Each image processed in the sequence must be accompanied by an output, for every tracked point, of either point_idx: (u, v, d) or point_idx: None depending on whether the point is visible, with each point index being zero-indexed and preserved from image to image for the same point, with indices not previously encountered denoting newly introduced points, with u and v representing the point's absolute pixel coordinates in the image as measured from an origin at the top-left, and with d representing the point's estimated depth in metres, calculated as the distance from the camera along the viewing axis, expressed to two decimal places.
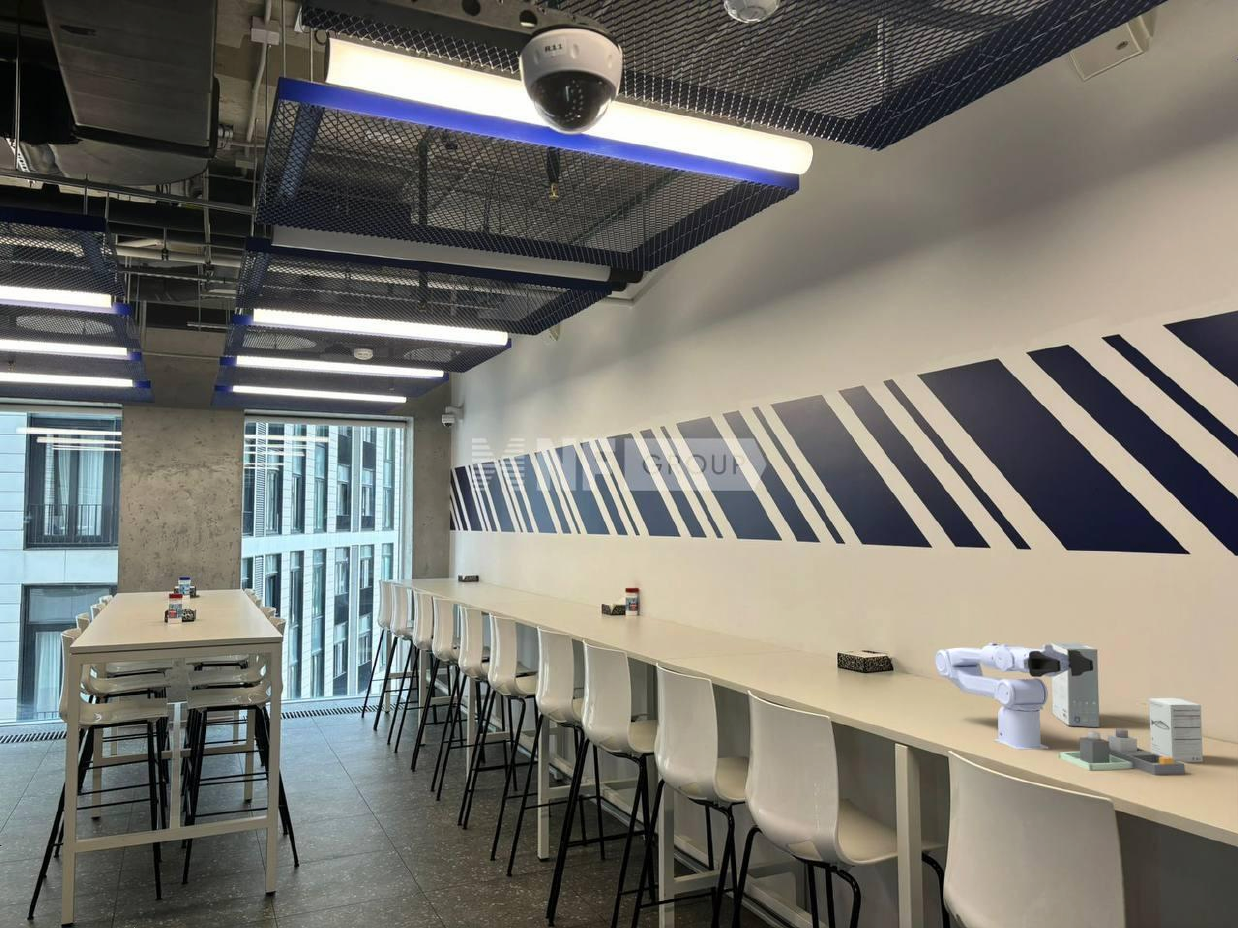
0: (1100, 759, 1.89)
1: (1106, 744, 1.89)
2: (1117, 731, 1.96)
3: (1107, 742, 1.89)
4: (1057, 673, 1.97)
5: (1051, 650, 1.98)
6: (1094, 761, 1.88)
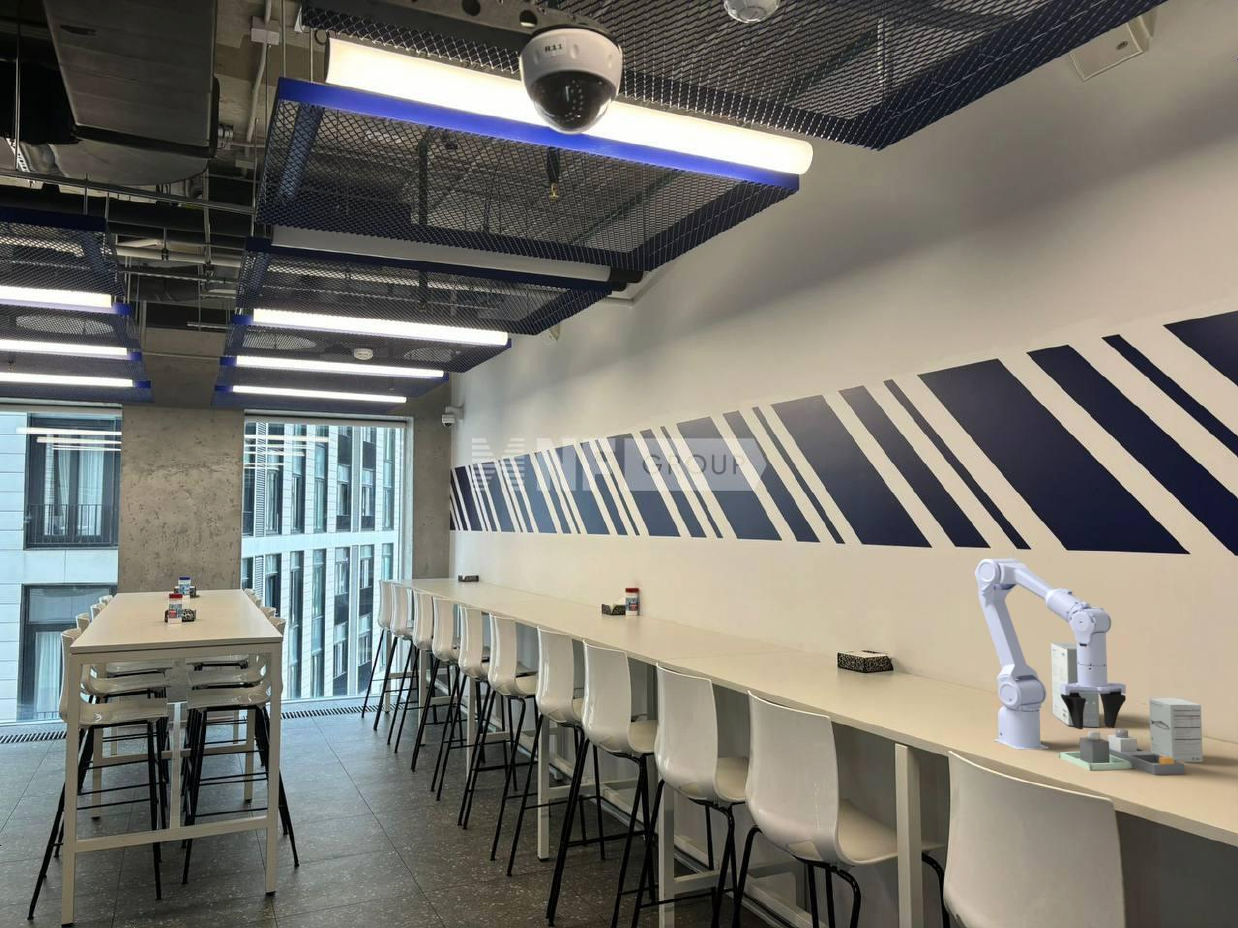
0: (1100, 759, 1.89)
1: (1106, 744, 1.89)
2: (1117, 731, 1.96)
3: (1107, 742, 1.89)
4: None
5: None
6: (1094, 761, 1.88)
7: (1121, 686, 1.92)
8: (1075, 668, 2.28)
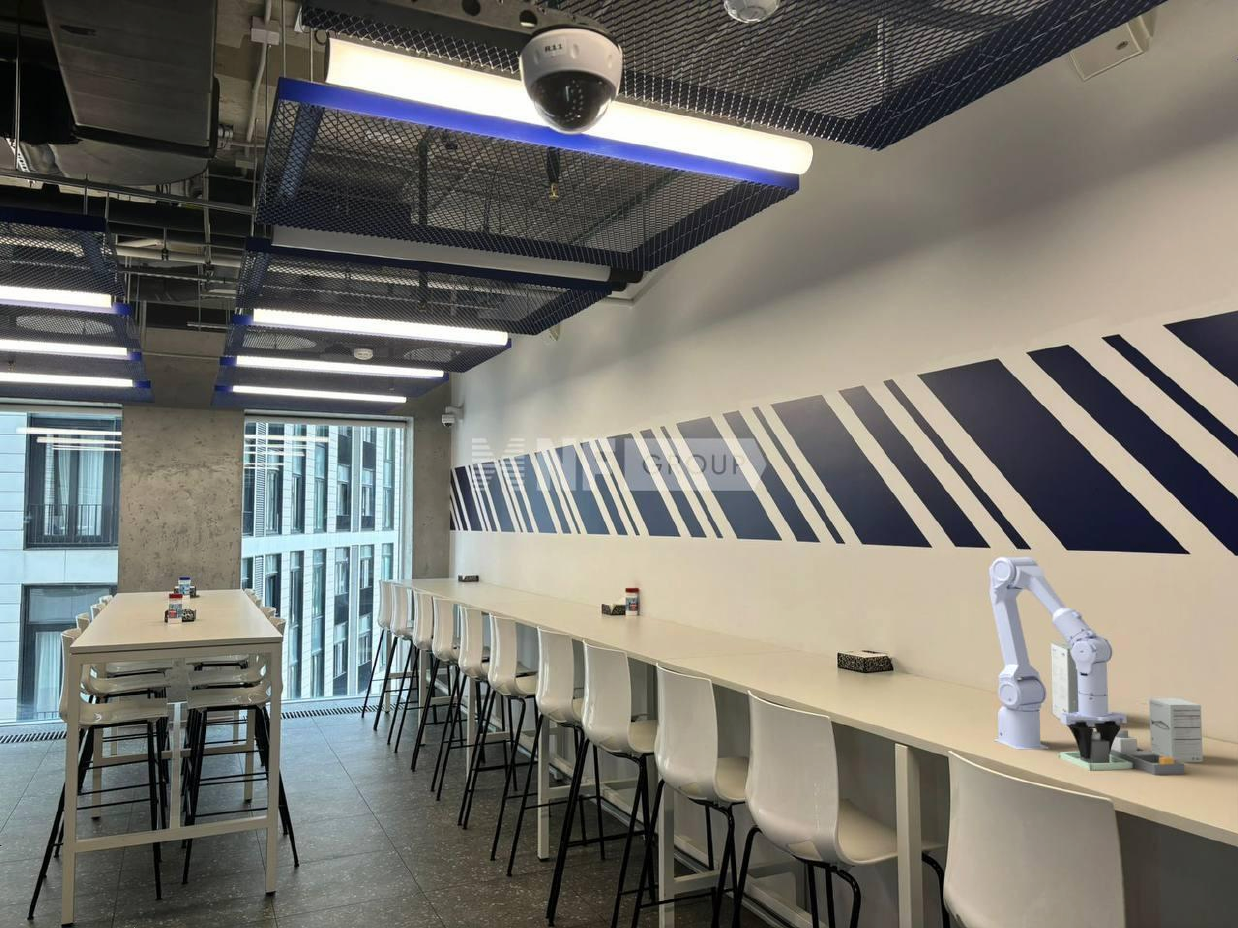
0: (1100, 759, 1.89)
1: (1106, 744, 1.89)
2: None
3: (1107, 742, 1.89)
4: None
5: None
6: (1094, 761, 1.88)
7: (1122, 716, 1.91)
8: (1075, 668, 2.28)
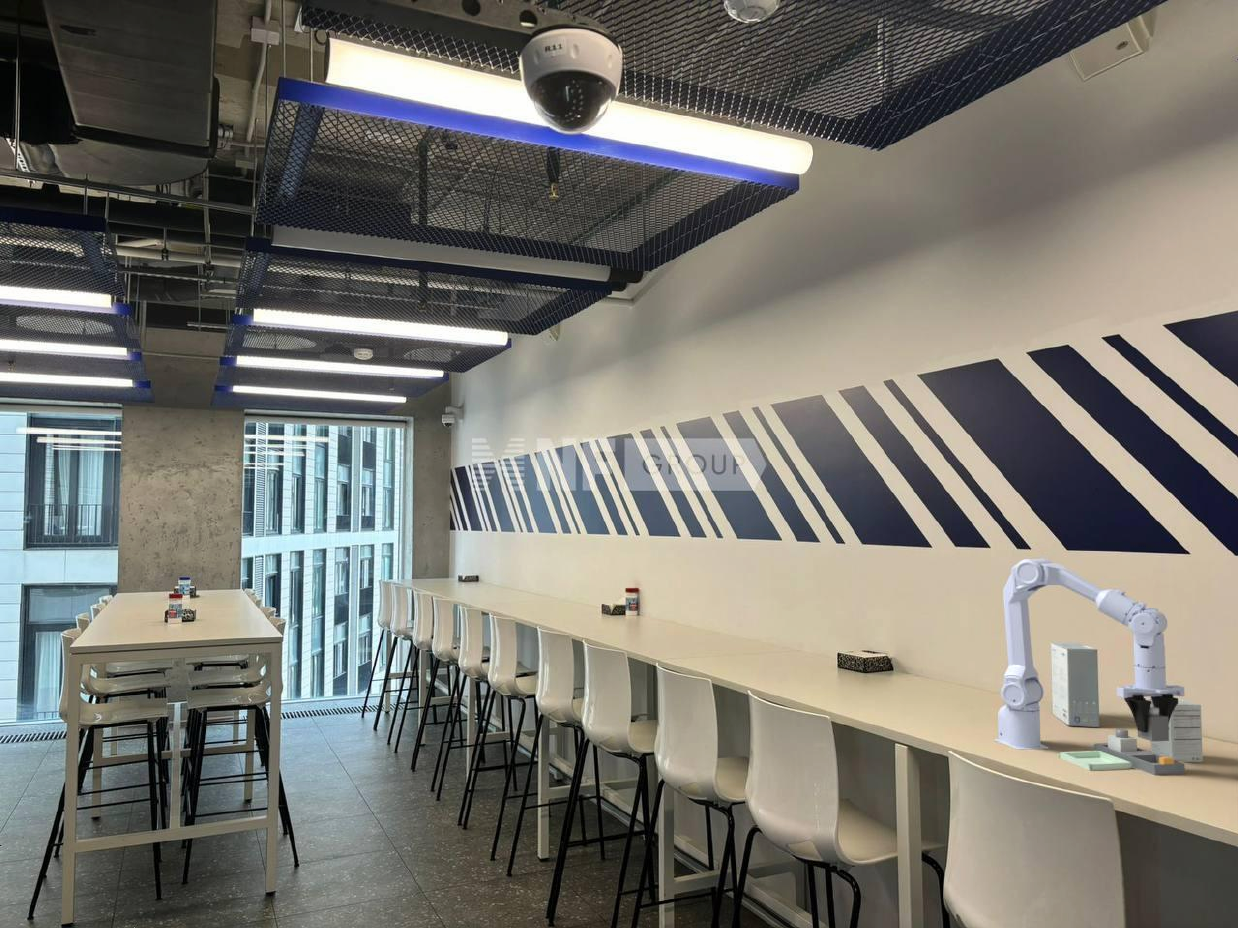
0: (1159, 735, 1.85)
1: (1165, 719, 1.85)
2: (1117, 731, 1.96)
3: (1166, 717, 1.85)
4: None
5: None
6: (1153, 736, 1.85)
7: (1180, 688, 1.88)
8: (1075, 668, 2.28)
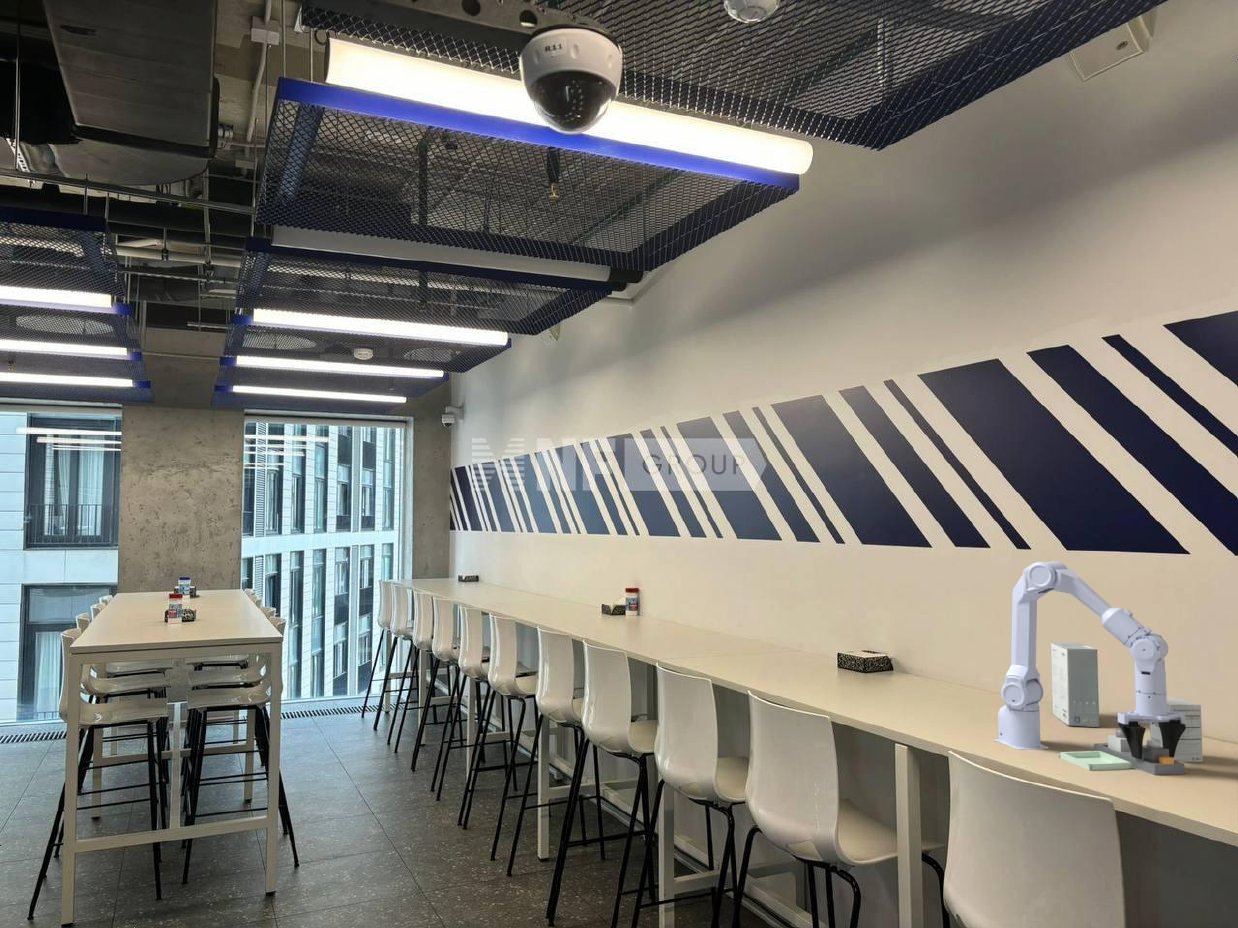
0: None
1: (1166, 752, 1.85)
2: (1117, 731, 1.96)
3: (1167, 750, 1.85)
4: None
5: None
6: None
7: (1181, 715, 1.87)
8: (1075, 668, 2.28)
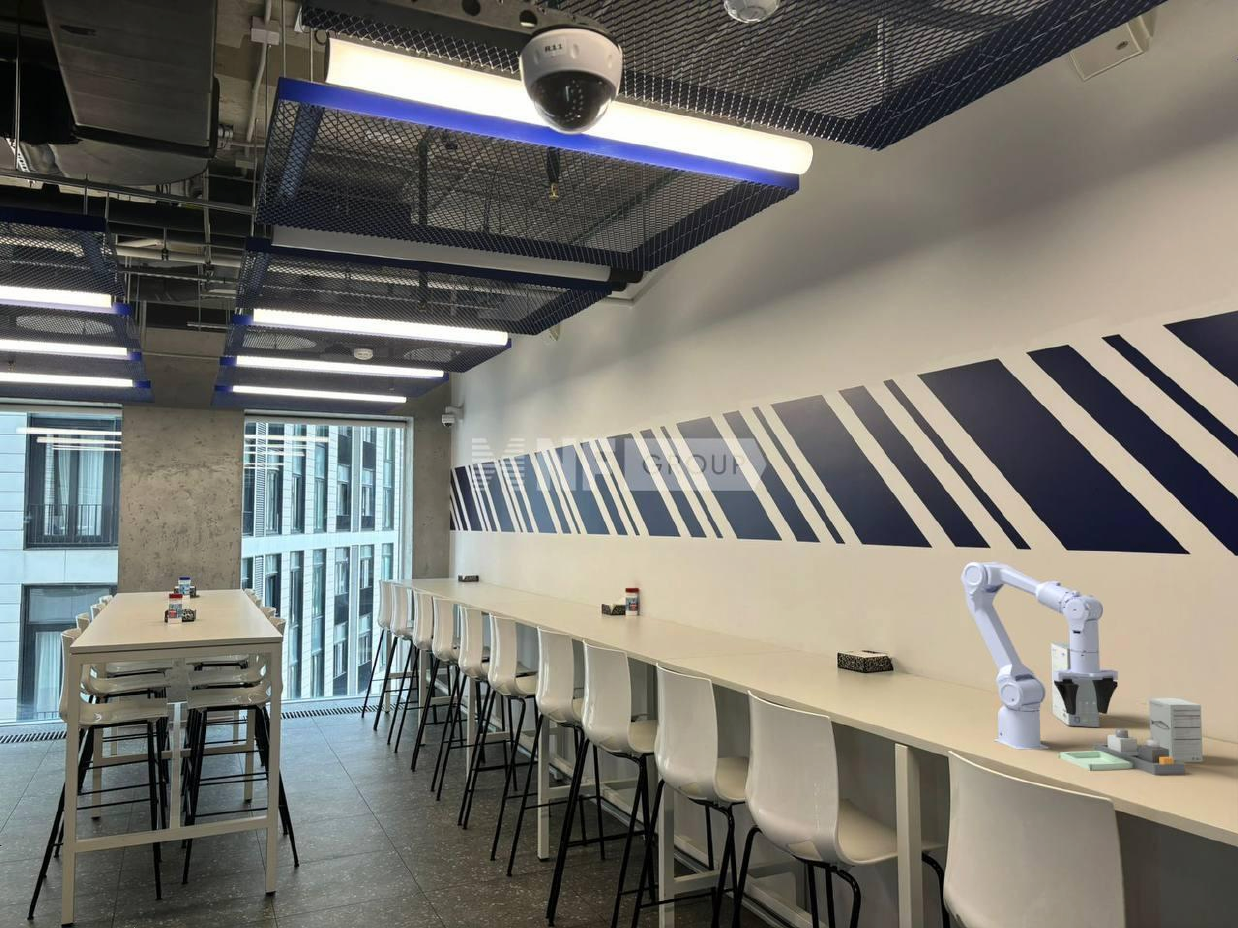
0: None
1: (1166, 752, 1.85)
2: (1117, 731, 1.96)
3: (1167, 750, 1.85)
4: None
5: None
6: None
7: (1113, 672, 1.95)
8: None
